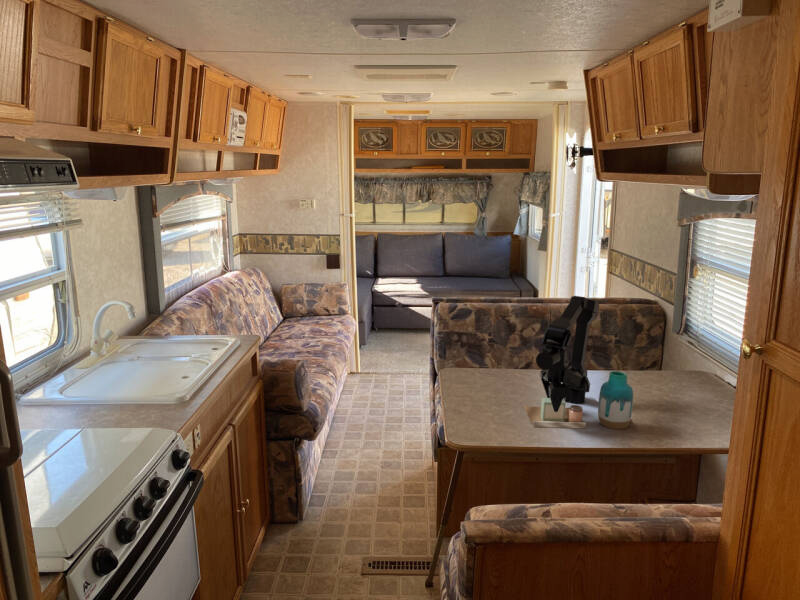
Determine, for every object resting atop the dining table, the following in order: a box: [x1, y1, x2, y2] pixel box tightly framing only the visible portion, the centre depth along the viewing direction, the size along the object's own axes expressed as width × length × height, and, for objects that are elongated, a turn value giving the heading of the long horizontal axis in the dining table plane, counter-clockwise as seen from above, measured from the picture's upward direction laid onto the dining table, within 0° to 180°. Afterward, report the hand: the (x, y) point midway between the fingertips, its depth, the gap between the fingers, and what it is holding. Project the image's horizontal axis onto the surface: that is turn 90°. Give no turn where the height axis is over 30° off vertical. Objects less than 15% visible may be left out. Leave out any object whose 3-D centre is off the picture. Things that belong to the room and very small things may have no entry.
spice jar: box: [568, 404, 584, 422], centre depth 192 cm, size 4×4×6 cm
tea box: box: [540, 397, 566, 422], centre depth 194 cm, size 7×4×7 cm, turn 88°
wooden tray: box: [523, 406, 587, 430], centre depth 198 cm, size 17×17×3 cm
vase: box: [597, 370, 634, 430], centre depth 191 cm, size 11×11×19 cm
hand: (552, 406), depth 194 cm, fingers open, 9 cm apart
